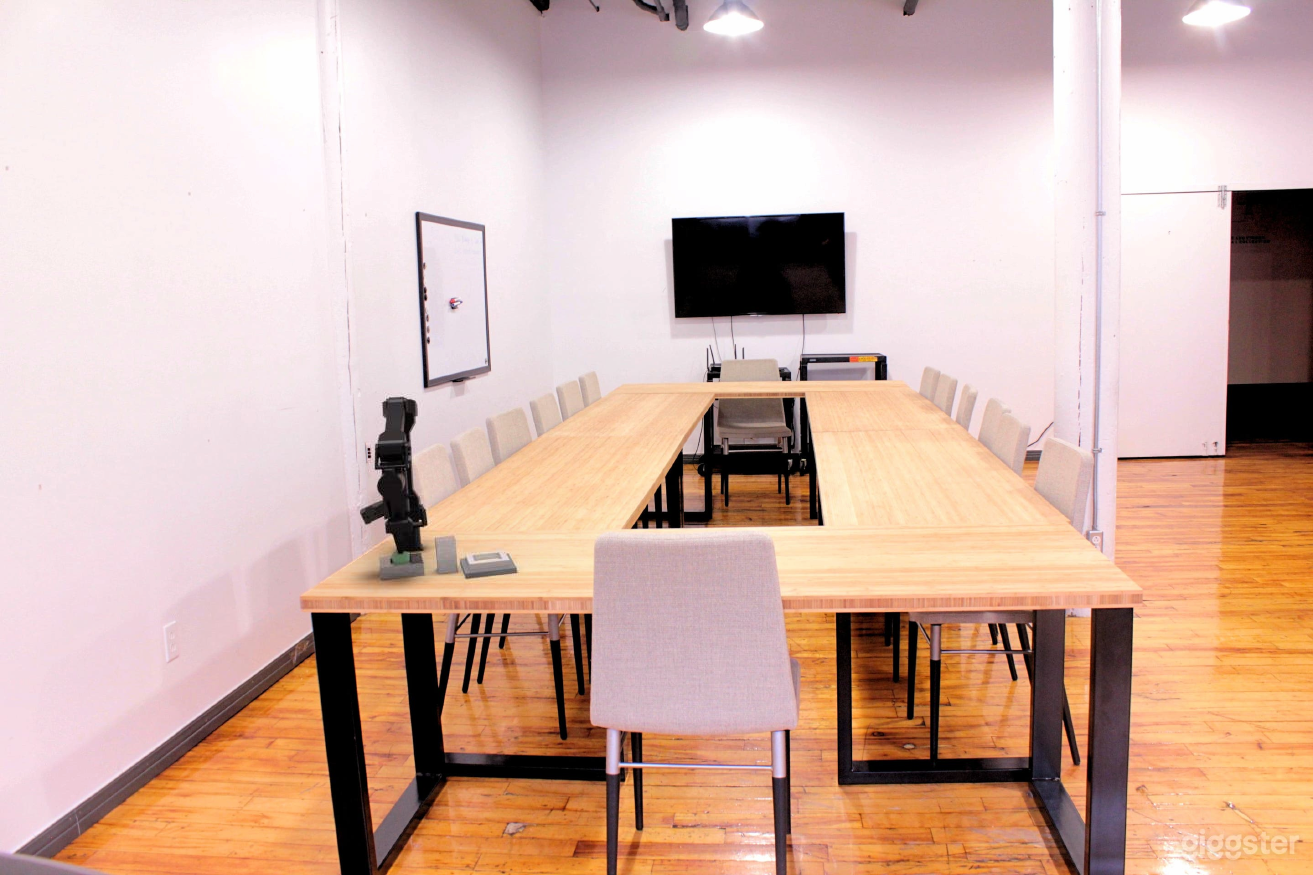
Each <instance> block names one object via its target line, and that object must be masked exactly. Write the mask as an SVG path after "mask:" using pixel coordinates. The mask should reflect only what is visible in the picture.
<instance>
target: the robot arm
mask: <svg viewBox="0 0 1313 875" xmlns="http://www.w3.org/2000/svg"><path fill="white" fill-rule="evenodd" d="M381 403H382V404H381V406H382V407H381V408H382V417H384V419H385V424H384V426H385V427H384V430H383V432H380V434H379V435H378V439H377V443H375V444H374V471H378V470H379V471H381V476H380V478H378V481H377V484H376V489H377V493H378V494H379V495H380V496H381V499H382V500H379V501H377V502H373V503H371V504H369V505H368V506H365V507H363V508H361V509H360V510H359V514H360V517H361V518H362V520H363V522H364V524H365V525H366V526H367V525H370V524H371V523H373V522H375V521H377V520H379V519H382V518H383V520H386V521H384V527H385V528H384V530H385V534H387V535H388V534H389V535H390V534H391V535H392V537H393V541H394V544H395V548H396V551H397V552H398V554H403V552H409V553H416V552H422V551H425V550H424V549H425V548H424V545H423V543H422V536H421V528H425V527H427V526H429V525H428V514H427V510H426V508H425V506H424V504H422V503H421V502H422V500H421V497H420V496H419V494H418V493H417V491H416V490H415V487H414V474H413V470H414V469H413V458H412V457H413V456H412V454H413V453H412V452H413V450H412V438H411V433H412V431H413V429H414V427H415V426H416V424H417V418H416V417H418V416H419V415H418V414H419V413H418V412H419V410H418V402H416V400H414V399H412V398H407V397H404V396H394V397H388V398H386V399H385V400H384V401H382V402H381Z"/></svg>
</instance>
